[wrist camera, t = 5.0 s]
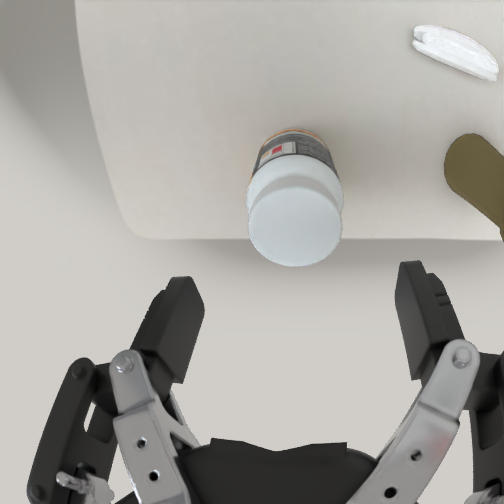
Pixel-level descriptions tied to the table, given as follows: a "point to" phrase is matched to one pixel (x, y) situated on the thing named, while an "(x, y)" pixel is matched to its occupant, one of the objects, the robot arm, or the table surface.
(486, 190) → the cork
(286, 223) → the pill bottle
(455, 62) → the sub sandwich
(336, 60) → the table surface
